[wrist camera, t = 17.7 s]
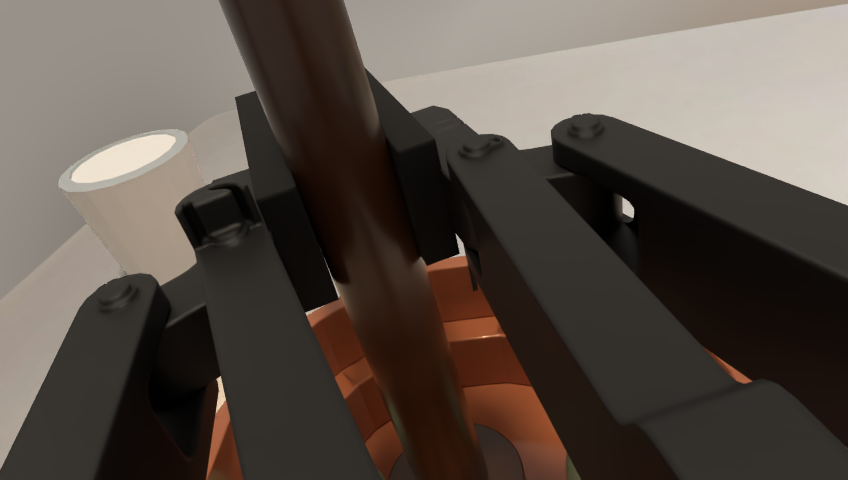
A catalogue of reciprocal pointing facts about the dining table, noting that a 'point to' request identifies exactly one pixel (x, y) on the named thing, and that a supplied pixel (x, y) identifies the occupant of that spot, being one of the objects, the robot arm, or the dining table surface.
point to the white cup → (138, 200)
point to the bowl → (478, 371)
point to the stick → (365, 230)
